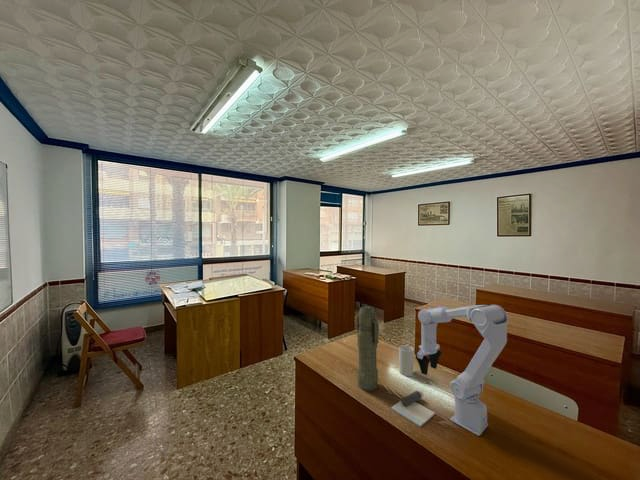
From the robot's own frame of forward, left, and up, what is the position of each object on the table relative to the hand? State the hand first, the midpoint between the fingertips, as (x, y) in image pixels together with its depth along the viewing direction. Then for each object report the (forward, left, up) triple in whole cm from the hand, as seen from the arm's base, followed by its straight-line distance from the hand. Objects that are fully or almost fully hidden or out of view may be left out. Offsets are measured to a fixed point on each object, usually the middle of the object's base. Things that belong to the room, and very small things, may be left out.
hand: (428, 370), depth 104 cm
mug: (+16, -10, -11) cm, 22 cm away
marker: (+2, +15, -8) cm, 17 cm away
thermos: (+21, +14, -11) cm, 27 cm away
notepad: (-1, +14, -10) cm, 17 cm away
